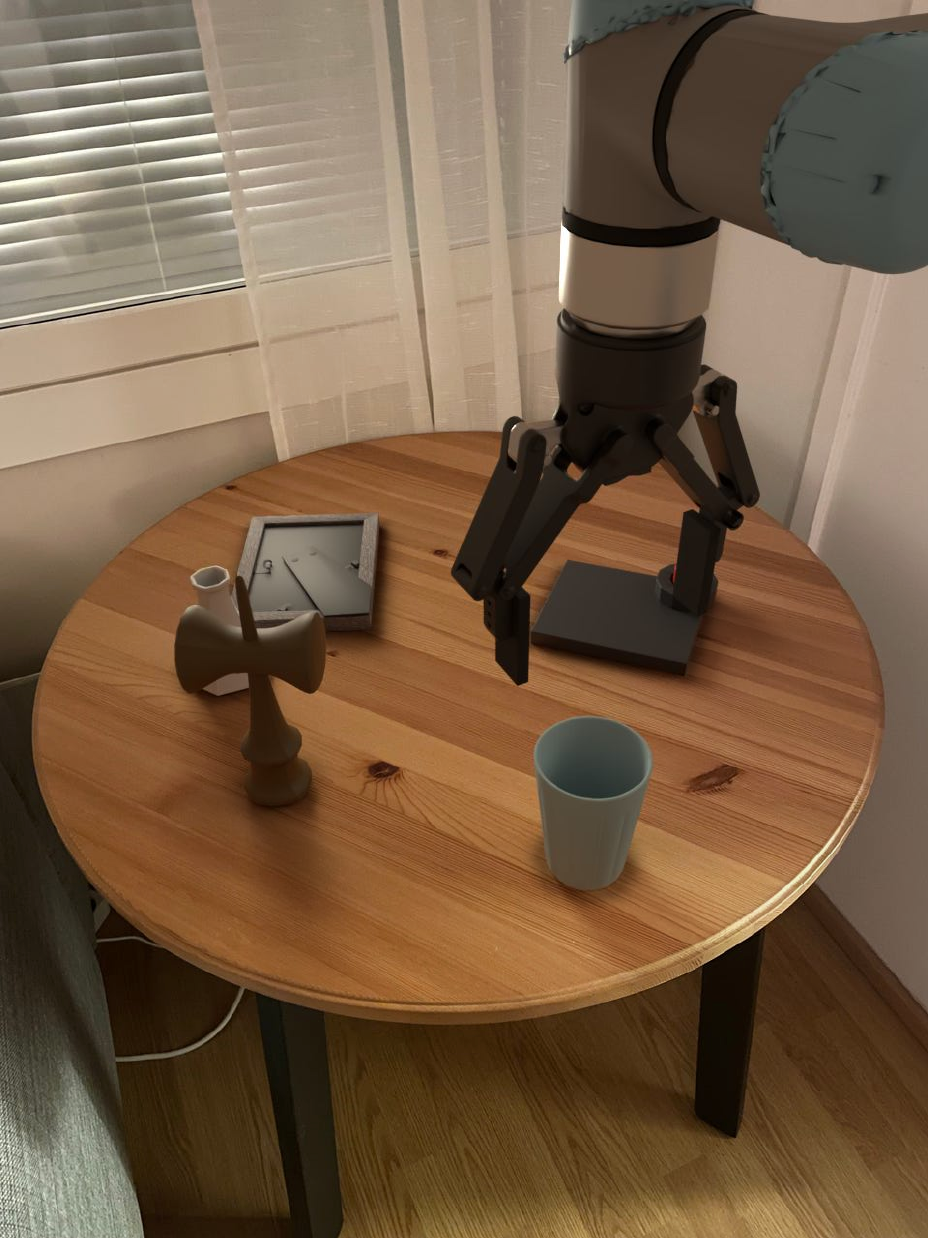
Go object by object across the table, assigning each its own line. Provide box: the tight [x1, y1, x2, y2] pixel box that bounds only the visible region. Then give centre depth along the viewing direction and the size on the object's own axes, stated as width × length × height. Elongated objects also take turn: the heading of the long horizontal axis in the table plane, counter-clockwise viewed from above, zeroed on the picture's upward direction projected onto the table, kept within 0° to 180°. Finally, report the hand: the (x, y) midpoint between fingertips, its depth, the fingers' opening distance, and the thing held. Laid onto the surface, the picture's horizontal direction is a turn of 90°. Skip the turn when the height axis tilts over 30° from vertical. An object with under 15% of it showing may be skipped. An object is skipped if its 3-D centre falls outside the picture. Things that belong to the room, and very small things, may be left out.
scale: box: [530, 559, 719, 676], centre depth 92 cm, size 15×13×3 cm
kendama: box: [173, 574, 327, 807], centre depth 71 cm, size 6×10×20 cm, turn 86°
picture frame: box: [230, 512, 380, 632], centre depth 99 cm, size 13×2×18 cm
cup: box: [533, 715, 654, 891], centre depth 68 cm, size 8×8×10 cm
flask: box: [189, 565, 249, 697], centre depth 86 cm, size 7×7×10 cm
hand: (603, 636), depth 64 cm, fingers open, 13 cm apart
